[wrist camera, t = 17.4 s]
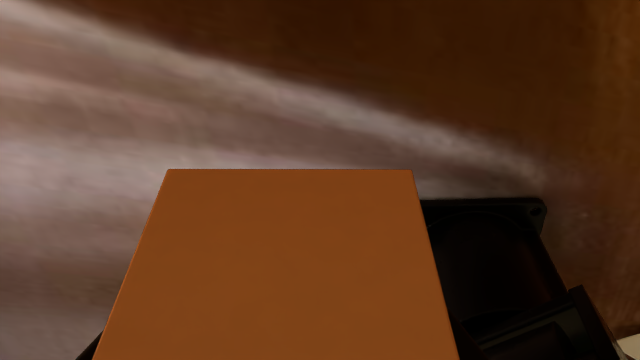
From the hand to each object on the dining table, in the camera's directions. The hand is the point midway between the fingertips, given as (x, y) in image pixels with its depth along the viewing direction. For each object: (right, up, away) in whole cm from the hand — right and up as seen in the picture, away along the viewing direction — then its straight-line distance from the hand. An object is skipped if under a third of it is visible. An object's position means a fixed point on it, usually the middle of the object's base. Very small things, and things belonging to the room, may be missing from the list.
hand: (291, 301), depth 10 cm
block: (0, +1, +1) cm, 1 cm away
